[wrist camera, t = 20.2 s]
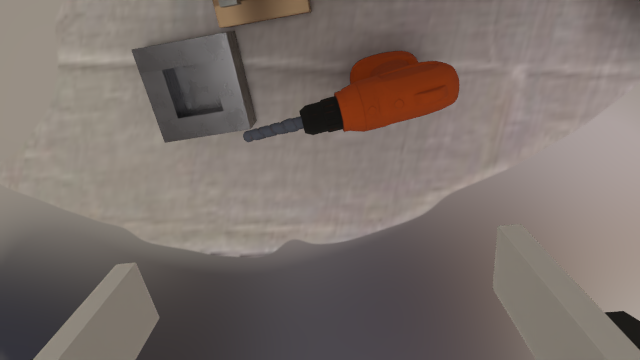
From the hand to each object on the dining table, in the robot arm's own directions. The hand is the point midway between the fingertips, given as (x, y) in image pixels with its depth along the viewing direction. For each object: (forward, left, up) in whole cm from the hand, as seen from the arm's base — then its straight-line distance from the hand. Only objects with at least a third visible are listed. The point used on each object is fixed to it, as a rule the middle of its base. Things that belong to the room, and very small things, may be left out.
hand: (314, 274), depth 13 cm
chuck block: (+14, -4, -31) cm, 34 cm away
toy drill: (-2, -1, -31) cm, 31 cm away
